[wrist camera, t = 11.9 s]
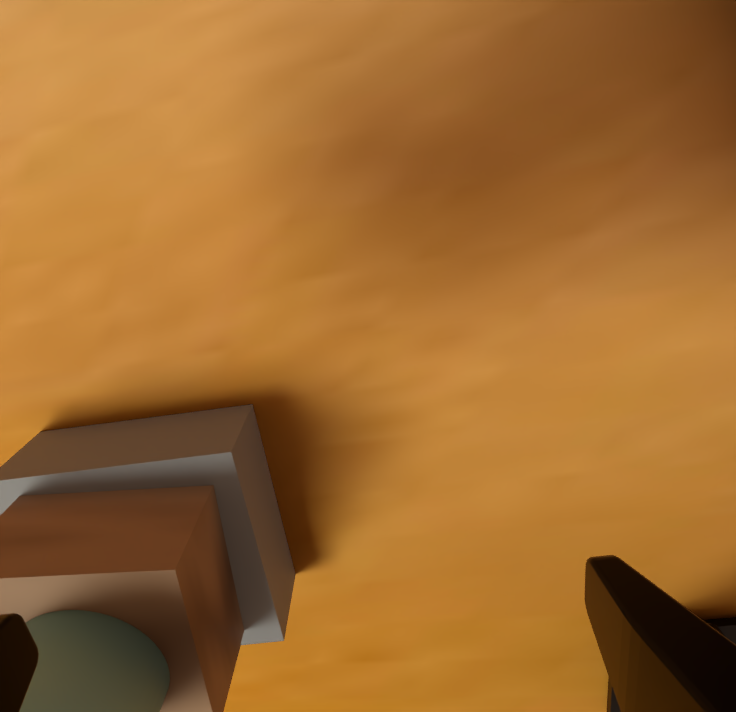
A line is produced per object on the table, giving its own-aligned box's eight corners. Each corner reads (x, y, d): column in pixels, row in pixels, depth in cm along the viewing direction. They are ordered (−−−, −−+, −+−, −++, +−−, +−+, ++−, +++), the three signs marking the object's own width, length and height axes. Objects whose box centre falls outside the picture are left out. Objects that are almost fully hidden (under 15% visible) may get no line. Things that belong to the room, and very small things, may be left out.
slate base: (296, 567, 25) (283, 640, 22) (114, 587, 26) (71, 662, 22) (254, 399, 22) (231, 451, 18) (46, 426, 23) (-18, 482, 19)
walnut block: (244, 630, 22) (217, 732, 18) (73, 638, 22) (12, 740, 18) (213, 485, 19) (174, 569, 15) (19, 495, 19) (-65, 581, 15)
